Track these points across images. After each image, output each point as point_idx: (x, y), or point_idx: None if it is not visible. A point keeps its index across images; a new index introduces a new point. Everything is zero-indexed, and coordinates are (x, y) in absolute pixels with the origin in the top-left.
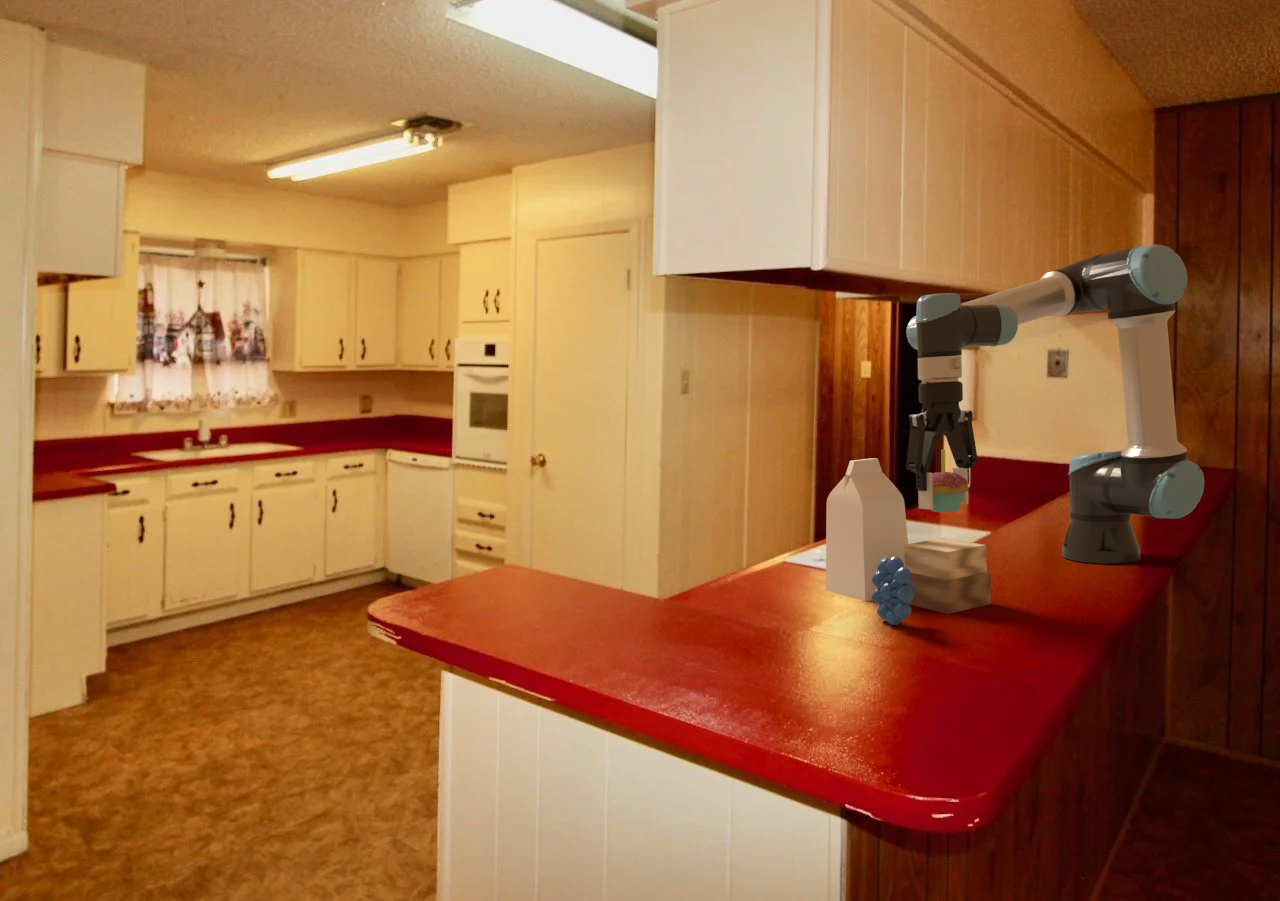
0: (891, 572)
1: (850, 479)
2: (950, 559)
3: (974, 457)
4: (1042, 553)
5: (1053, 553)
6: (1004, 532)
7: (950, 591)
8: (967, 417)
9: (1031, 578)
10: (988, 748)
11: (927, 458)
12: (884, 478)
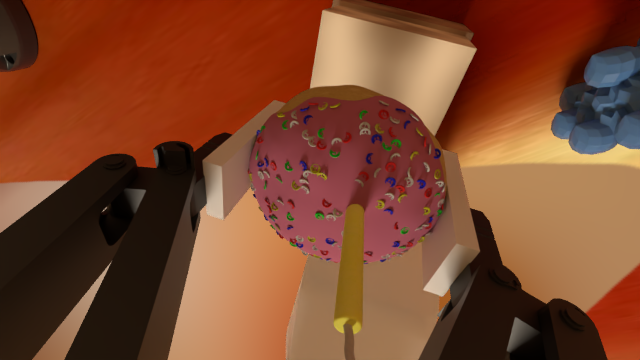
0: None
1: None
2: (459, 41)
3: (107, 174)
4: (47, 96)
5: (34, 83)
6: (26, 179)
7: (459, 27)
8: None
9: (158, 33)
10: None
11: (503, 337)
12: (303, 341)
